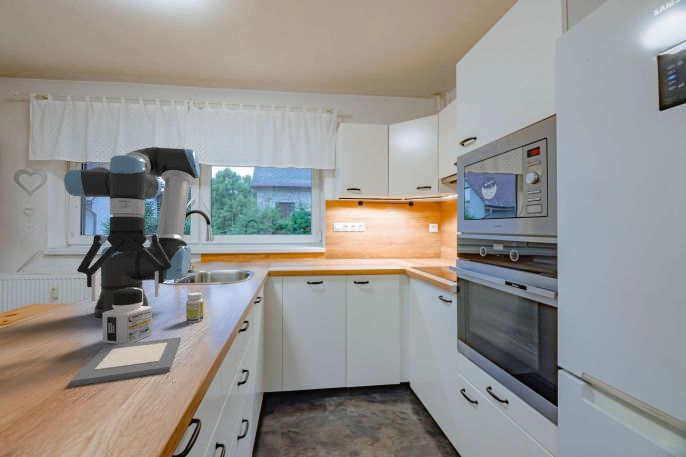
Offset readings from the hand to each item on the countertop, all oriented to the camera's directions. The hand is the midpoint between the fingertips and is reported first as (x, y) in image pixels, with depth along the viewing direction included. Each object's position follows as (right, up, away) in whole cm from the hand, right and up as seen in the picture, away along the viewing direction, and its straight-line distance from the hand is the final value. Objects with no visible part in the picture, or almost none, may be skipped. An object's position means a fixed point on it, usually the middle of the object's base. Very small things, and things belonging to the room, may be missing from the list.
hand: (127, 298), depth 81 cm
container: (0, -11, 0) cm, 11 cm away
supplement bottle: (+10, -11, +16) cm, 22 cm away
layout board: (+10, -11, -13) cm, 20 cm away
